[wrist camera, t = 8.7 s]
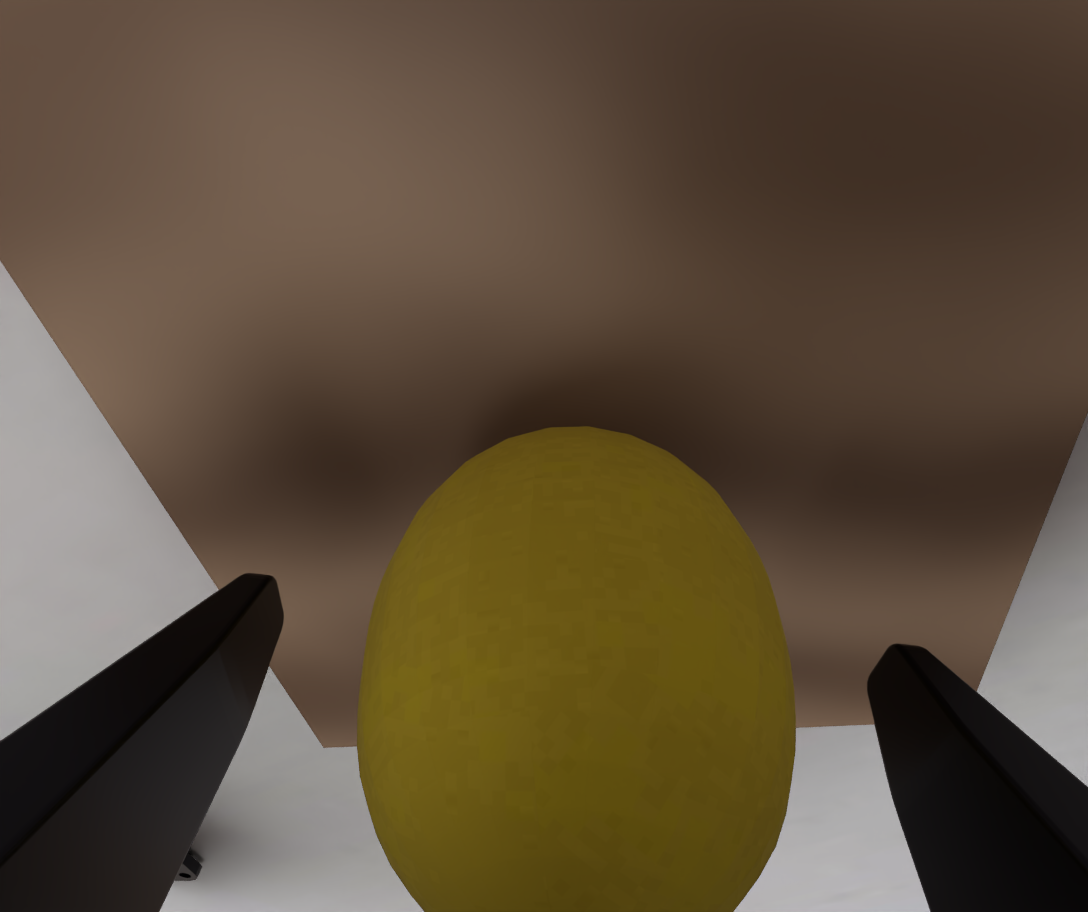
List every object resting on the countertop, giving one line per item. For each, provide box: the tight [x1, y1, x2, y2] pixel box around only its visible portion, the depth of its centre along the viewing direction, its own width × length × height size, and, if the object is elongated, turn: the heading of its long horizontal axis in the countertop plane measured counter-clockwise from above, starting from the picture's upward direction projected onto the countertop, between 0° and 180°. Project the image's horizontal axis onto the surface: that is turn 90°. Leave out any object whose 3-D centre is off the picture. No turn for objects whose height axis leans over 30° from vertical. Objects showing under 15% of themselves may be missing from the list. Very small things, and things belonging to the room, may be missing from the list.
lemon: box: [357, 426, 796, 912], centre depth 8 cm, size 6×6×8 cm
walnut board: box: [0, 0, 1088, 748], centre depth 12 cm, size 18×18×1 cm
